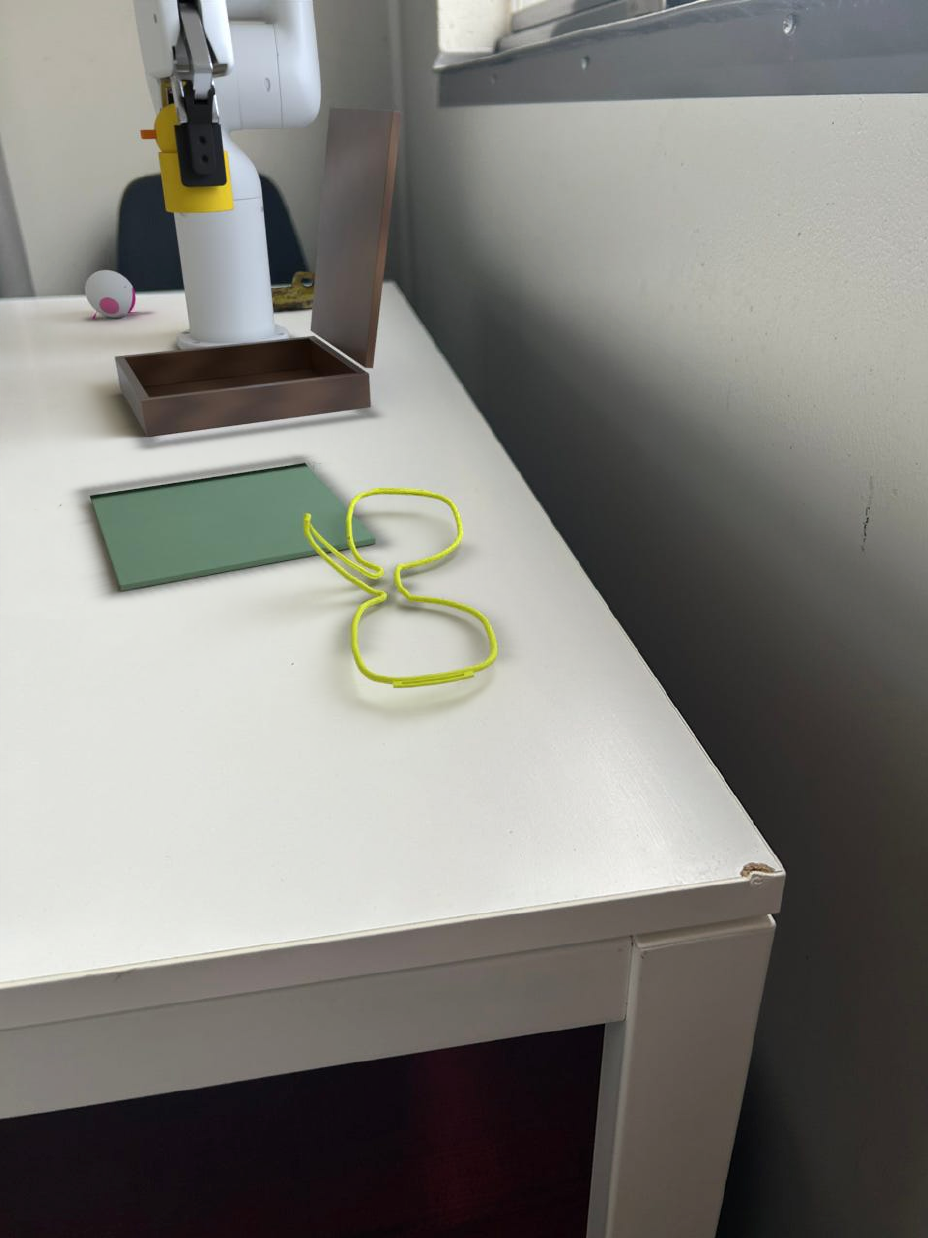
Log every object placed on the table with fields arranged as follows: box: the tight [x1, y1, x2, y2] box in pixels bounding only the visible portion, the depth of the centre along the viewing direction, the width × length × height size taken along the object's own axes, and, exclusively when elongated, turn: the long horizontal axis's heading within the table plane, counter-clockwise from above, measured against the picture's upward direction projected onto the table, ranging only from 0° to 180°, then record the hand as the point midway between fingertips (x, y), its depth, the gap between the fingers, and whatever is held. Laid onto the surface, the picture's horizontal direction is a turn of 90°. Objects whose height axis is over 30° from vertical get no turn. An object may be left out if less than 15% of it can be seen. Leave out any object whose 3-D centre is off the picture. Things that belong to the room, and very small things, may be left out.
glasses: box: [303, 487, 499, 689], centre depth 57 cm, size 25×10×5 cm, turn 7°
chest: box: [114, 335, 372, 438], centre depth 91 cm, size 20×17×4 cm
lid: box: [310, 106, 403, 369], centre depth 89 cm, size 20×17×1 cm
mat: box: [89, 462, 377, 592], centre depth 68 cm, size 18×16×1 cm
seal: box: [271, 270, 315, 312], centre depth 132 cm, size 9×5×15 cm
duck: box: [139, 103, 234, 214], centre depth 73 cm, size 6×5×7 cm
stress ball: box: [84, 269, 140, 320], centre depth 127 cm, size 8×8×7 cm
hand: (196, 180), depth 74 cm, fingers closed on duck, 5 cm apart
